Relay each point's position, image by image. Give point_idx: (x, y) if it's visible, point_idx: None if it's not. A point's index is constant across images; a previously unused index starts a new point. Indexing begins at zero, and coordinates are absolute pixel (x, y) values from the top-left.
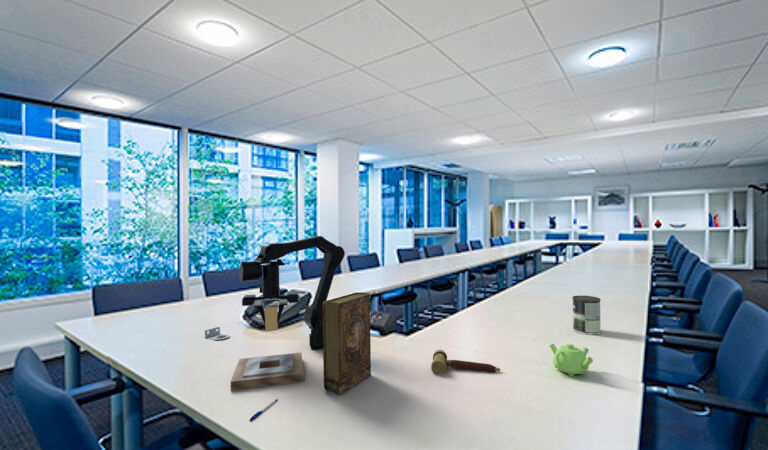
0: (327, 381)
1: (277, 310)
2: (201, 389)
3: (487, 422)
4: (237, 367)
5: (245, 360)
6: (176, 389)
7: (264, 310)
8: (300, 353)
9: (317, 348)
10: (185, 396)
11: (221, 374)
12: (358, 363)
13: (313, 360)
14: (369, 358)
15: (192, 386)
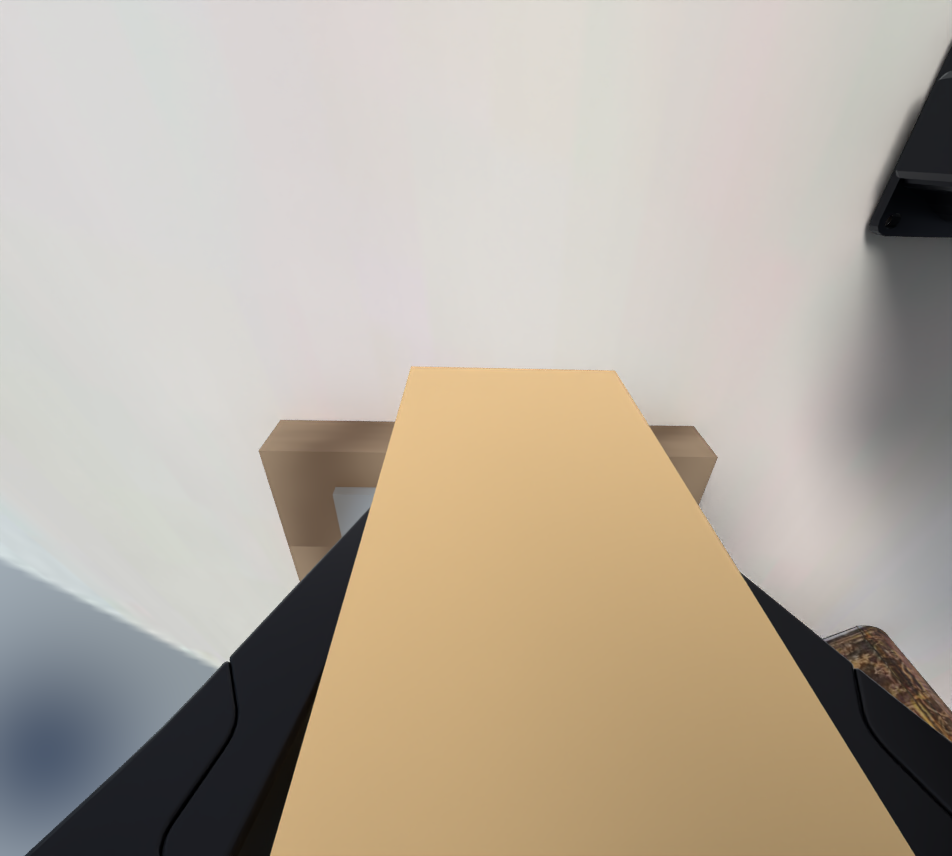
0: None
1: (786, 734)
2: (206, 604)
3: None
4: (302, 566)
5: (316, 489)
6: (85, 583)
7: (278, 817)
8: (702, 474)
9: (927, 236)
10: (175, 633)
11: (216, 497)
12: None
13: (758, 456)
14: None
15: (143, 576)
